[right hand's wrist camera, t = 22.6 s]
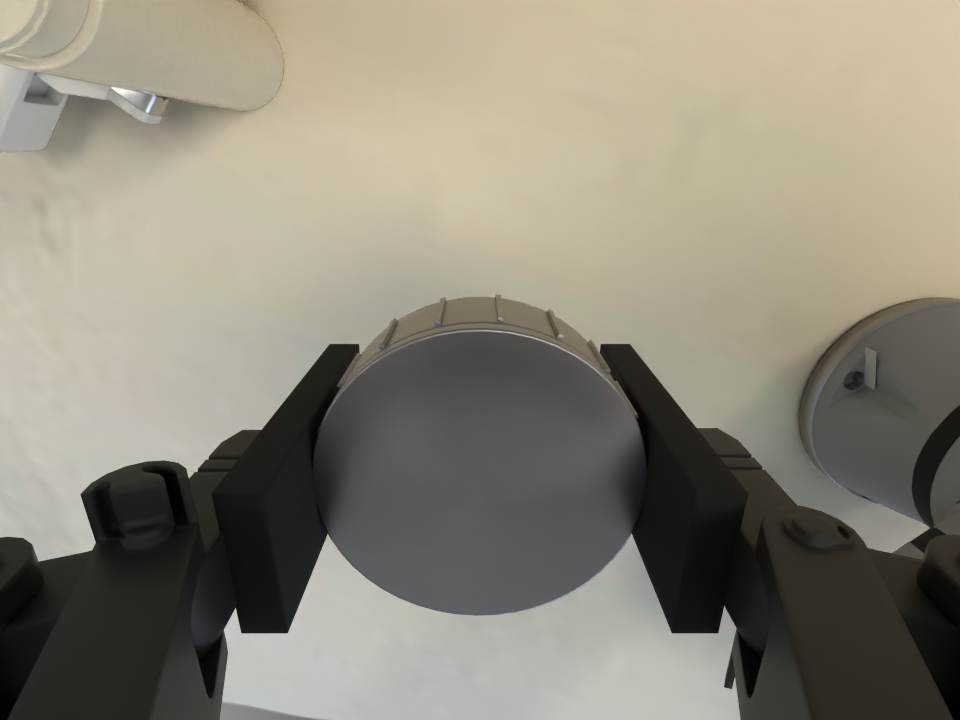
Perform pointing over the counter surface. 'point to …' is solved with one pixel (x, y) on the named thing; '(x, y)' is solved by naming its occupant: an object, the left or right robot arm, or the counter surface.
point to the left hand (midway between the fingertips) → (191, 46)
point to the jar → (148, 47)
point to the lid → (479, 459)
